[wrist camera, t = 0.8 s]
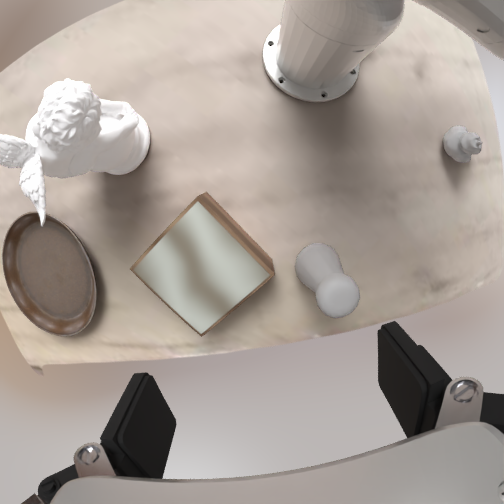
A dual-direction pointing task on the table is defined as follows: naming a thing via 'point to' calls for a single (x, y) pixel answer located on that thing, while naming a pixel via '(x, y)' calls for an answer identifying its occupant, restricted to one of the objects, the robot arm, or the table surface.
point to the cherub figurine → (75, 139)
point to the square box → (204, 265)
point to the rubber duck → (461, 143)
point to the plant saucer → (49, 274)
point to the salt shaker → (327, 280)
